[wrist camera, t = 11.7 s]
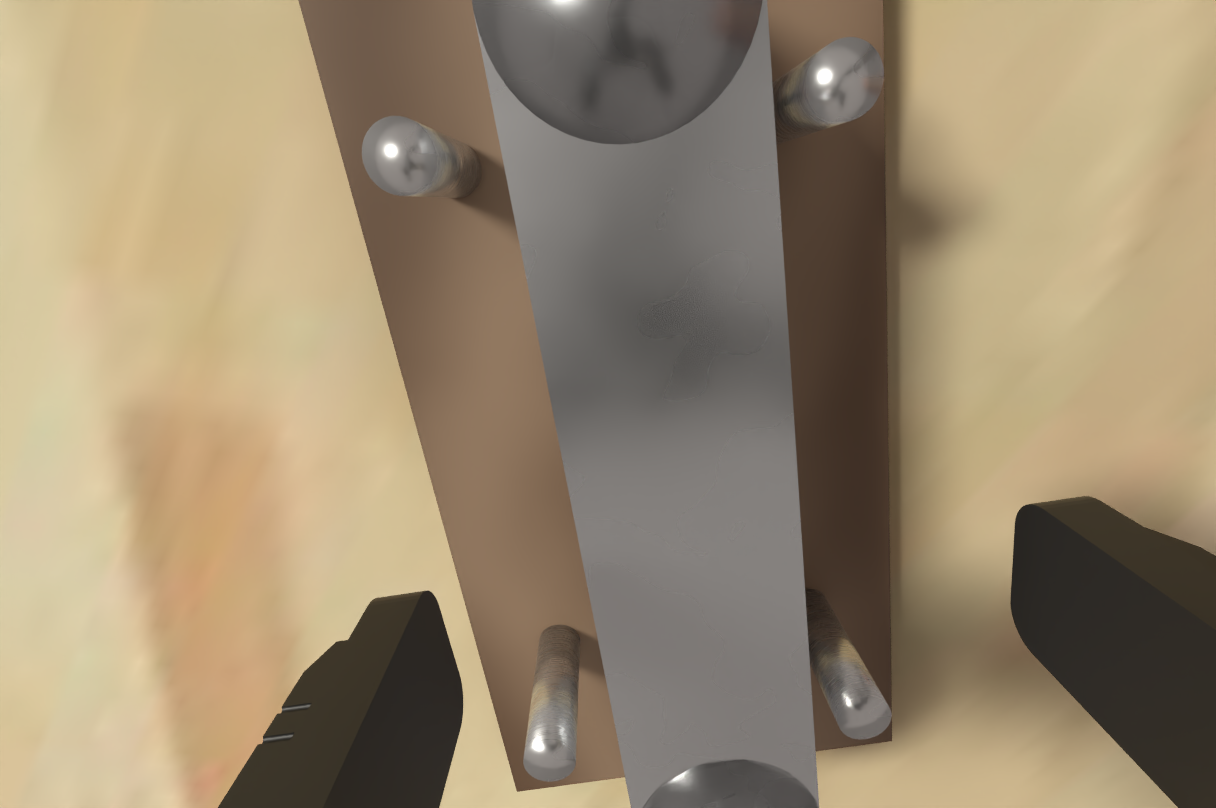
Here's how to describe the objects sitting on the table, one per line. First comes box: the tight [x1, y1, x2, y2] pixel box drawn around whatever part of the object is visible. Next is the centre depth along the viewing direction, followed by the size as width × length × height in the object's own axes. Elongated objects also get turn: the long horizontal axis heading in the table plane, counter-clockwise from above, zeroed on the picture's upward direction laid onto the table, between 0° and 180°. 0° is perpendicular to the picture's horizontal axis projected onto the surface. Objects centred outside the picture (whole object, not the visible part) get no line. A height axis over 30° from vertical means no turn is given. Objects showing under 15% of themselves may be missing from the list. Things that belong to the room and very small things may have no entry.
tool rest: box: [299, 0, 892, 792], centre depth 14 cm, size 12×24×5 cm, turn 9°
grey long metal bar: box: [472, 0, 819, 808], centre depth 13 cm, size 4×20×5 cm, turn 9°
